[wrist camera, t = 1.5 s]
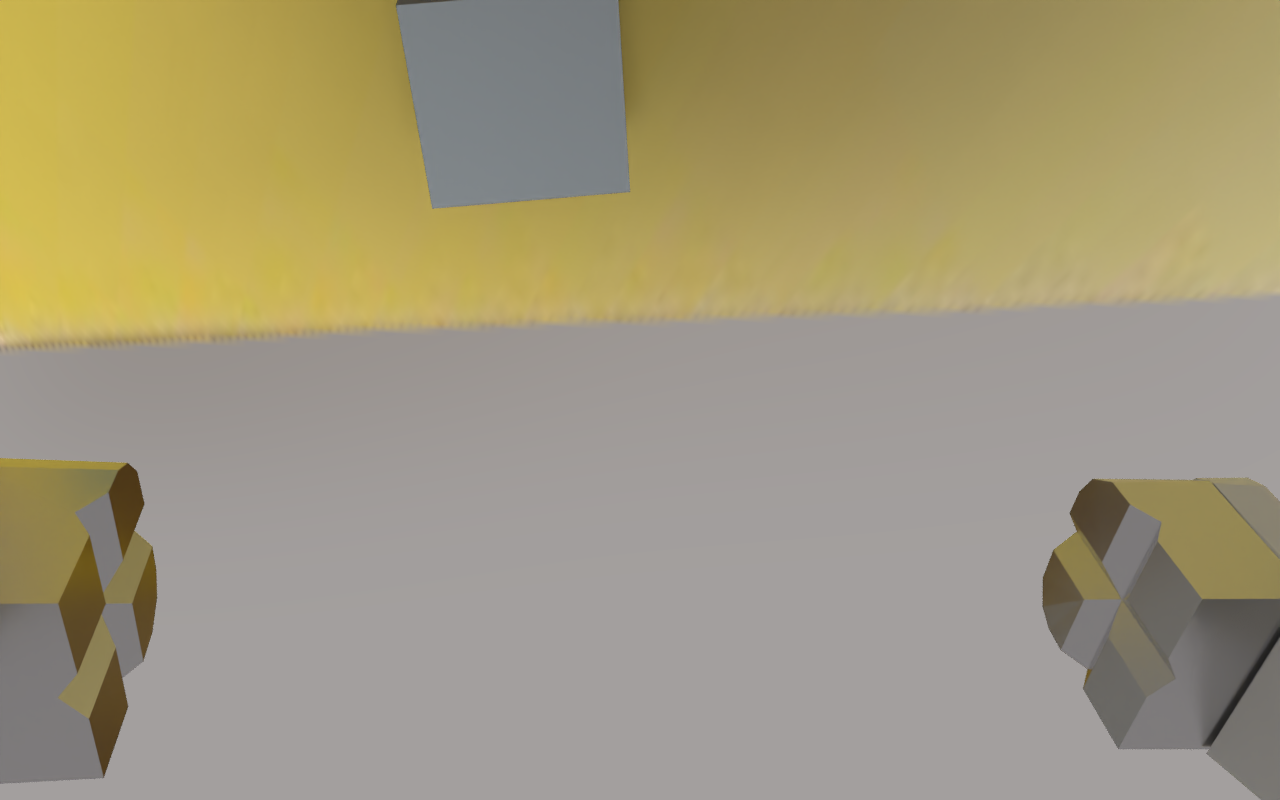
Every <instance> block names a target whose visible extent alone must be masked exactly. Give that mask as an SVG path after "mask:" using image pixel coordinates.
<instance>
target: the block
mask: <svg viewBox="0 0 1280 800" xmlns="http://www.w3.org/2000/svg"><path fill="white" fill-rule="evenodd" d="M396 8H397V14H398V19H399V25H400V31H401V36H402V42H403V47H404V53H405V58H406V64H407V70H408V75H409V81H410V86H411V92H412V98H413V103H414V109H415V114H416V120H417V125H418V131H419V137H420V142H421V148H422V153H423V159H424V165H425V170H426V176H427V181H428V187H429V192H430V198H431V204H432V209H434V208H445V207H457V206H469V205H481V204H493V203H505V202H516V201H528V200H540V199H552V198H564V197H576V196H587V195H599V194H611V193H623V192H630V182H629V166H628V150H627V134H626V117H625V101H624V85H623V69H622V52H621V36H620V20H619V4H618V0H398V1H397V4H396Z"/></svg>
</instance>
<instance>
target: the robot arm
mask: <svg viewBox="0 0 1280 800" xmlns="http://www.w3.org/2000/svg"><path fill="white" fill-rule="evenodd" d="M143 507H144V499H143V495H142V490H141V486H140V481H139V477H138V473H137V471H136V470H135V469H134V468H133V467H132V466H131V465H130V464H128V463H116V462H88V461H61V460H34V459H32V460H31V459H6V458H0V784H3V783H21V782H39V781H57V780H76V779H95V778H104V776H105V773H106V770H107V767H108V764H109V761H110V758H111V755H112V752H113V750H114V746H115V744H116V741H117V738H118V735H119V732H120V729H121V726H122V723H123V720H124V717H125V714H126V712H127V708H128V703H127V698H126V694H125V689H124V684H123V679H122V678H123V677H124V676H125V675H127V674H128V673H129V672H130V671H132V670H133V669H134V668H136V667H137V666H138V665H139V664H140V663H142V662H143V661H144V657H145V654H146V651H147V648H148V645H149V642H150V638H151V635H152V632H153V624H154V617H155V609H156V602H157V576H156V565H155V559H154V553H153V547H152V546H151V545H150V544H149V543H148V542H147V541H146V540H144V539H143V538H142V537H141V536H140V535H139V534H138V533H136V532H135V531H134V530H135V528H136V525H137V522H138V520H139V517H140V514H141V512H142V509H143ZM1070 515H1071V518H1072V520H1073V523H1074V526H1075V528H1076V530H1077V532H1076V533H1074V534H1073V535H1072V536H1071V537H1069V538H1068V539H1067V540H1066V541H1064V542H1063V543H1062V544H1060V545H1059V546H1058V547H1057V548H1055V549H1054V550H1053V552H1052V555H1051V558H1050V561H1049V563H1048V566H1047V568H1046V571H1045V573H1044V576H1043V610H1044V613H1045V617H1046V620H1047V624H1048V628H1049V630H1050V632H1051V633H1052V635H1053V637H1054V639H1055V641H1056V643H1057V644H1058V646H1059V648H1060V650H1061V651H1063V652H1064V653H1065V654H1067V655H1068V656H1070V657H1071V658H1073V659H1074V660H1075V661H1077V662H1078V663H1080V664H1081V665H1083V666H1084V667H1085V668H1087V674H1086V678H1085V682H1084V687H1083V690H1084V691H1085V693H1086V695H1087V697H1088V698H1089V700H1090V702H1091V703H1092V705H1093V707H1094V708H1095V710H1096V712H1097V714H1098V715H1099V717H1100V719H1101V720H1102V722H1103V724H1104V726H1105V727H1106V729H1107V731H1108V732H1109V734H1110V736H1111V737H1112V739H1113V741H1114V743H1115V744H1116V746H1117V748H1118V749H1209V750H1208V752H1207V754H1208V755H1209V756H1210V757H1211V758H1212V759H1213V760H1215V761H1216V762H1217V763H1218V764H1219V765H1221V766H1222V767H1223V768H1224V769H1225V770H1227V771H1228V772H1229V773H1230V774H1231V775H1233V776H1234V777H1235V778H1236V779H1237V780H1238V781H1240V782H1241V783H1242V784H1243V785H1244V786H1245V787H1247V788H1248V789H1249V790H1250V791H1251V792H1253V793H1254V794H1255V795H1256V796H1258V797H1259V798H1260V799H1261V800H1280V501H1279V500H1278V499H1277V498H1276V497H1275V496H1274V495H1273V494H1272V493H1271V492H1270V491H1269V490H1268V489H1267V488H1266V487H1265V486H1263V485H1261V484H1259V483H1257V482H1255V481H1253V480H1251V479H1249V478H1196V479H1194V480H1154V479H1153V480H1152V479H1151V480H1150V479H1148V480H1147V479H1092V480H1091V481H1090V482H1089V483H1088V484H1087V485H1086V486H1085V487H1084V488H1083V489H1082V490H1081V491H1079V494H1078V496H1077V498H1076V500H1075V502H1074V504H1073V507H1072V509H1071V511H1070Z"/></svg>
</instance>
